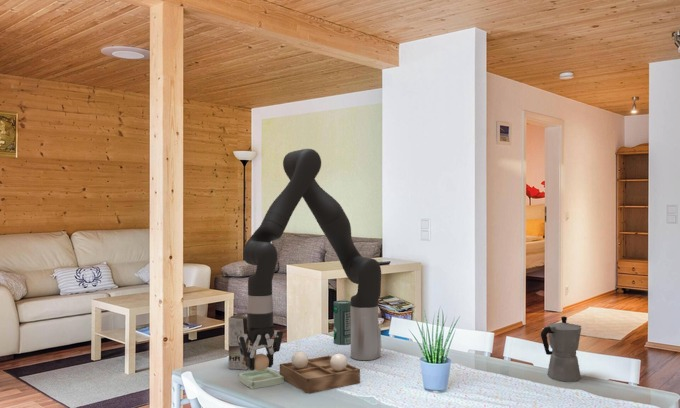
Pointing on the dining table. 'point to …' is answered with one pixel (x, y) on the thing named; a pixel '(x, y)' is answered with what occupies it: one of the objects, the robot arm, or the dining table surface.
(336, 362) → the white egg
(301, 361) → the white egg
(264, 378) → the dish
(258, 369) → the brown egg
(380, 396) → the dining table surface
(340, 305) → the can
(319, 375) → the egg tray
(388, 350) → the dining table surface
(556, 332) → the coffeepot
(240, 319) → the coffee box
